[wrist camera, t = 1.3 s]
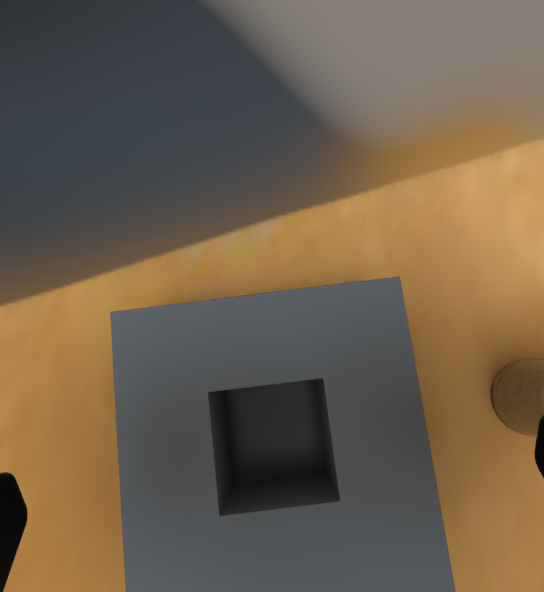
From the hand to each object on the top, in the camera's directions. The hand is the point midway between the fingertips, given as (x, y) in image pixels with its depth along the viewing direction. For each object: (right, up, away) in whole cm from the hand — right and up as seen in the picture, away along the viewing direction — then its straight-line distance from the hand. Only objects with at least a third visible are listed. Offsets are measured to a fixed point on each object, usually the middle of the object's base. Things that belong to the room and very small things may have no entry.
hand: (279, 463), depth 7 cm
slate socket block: (0, -4, +16) cm, 17 cm away
